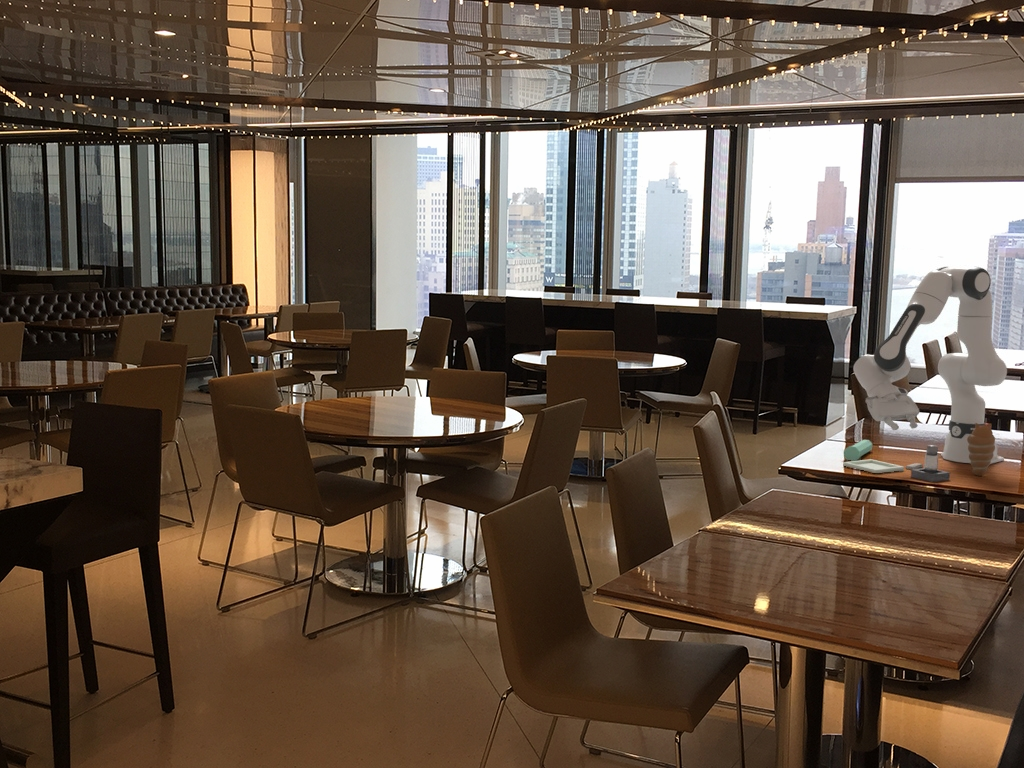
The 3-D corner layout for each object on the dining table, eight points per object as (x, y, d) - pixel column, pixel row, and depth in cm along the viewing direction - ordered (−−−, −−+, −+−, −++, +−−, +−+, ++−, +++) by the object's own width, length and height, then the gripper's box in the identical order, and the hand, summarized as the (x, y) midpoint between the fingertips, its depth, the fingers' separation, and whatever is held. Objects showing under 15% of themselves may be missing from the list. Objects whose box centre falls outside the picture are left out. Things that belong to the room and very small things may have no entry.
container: (863, 434, 369) (847, 442, 348) (877, 442, 366) (862, 451, 345) (856, 448, 371) (840, 457, 350) (870, 455, 368) (855, 465, 347)
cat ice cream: (987, 473, 331) (991, 421, 328) (997, 478, 323) (1002, 425, 321) (960, 472, 331) (965, 421, 329) (970, 477, 323) (975, 424, 321)
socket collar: (927, 474, 326) (927, 467, 326) (949, 479, 319) (949, 472, 319) (910, 477, 322) (911, 469, 322) (932, 482, 315) (933, 474, 315)
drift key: (915, 467, 341) (915, 462, 341) (922, 468, 340) (922, 463, 339) (905, 470, 336) (906, 465, 336) (912, 471, 334) (913, 466, 334)
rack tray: (870, 463, 344) (870, 459, 344) (903, 470, 332) (903, 466, 332) (843, 466, 337) (843, 462, 337) (875, 474, 325) (876, 470, 325)
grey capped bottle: (928, 476, 323) (931, 444, 322) (939, 479, 320) (941, 446, 318) (920, 477, 321) (923, 445, 320) (931, 480, 318) (933, 447, 317)
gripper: (869, 391, 328) (890, 424, 321) (909, 389, 338) (931, 421, 331) (857, 403, 332) (878, 435, 325) (897, 400, 342) (919, 431, 335)
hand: (905, 428), depth 328 cm, fingers open, 8 cm apart
